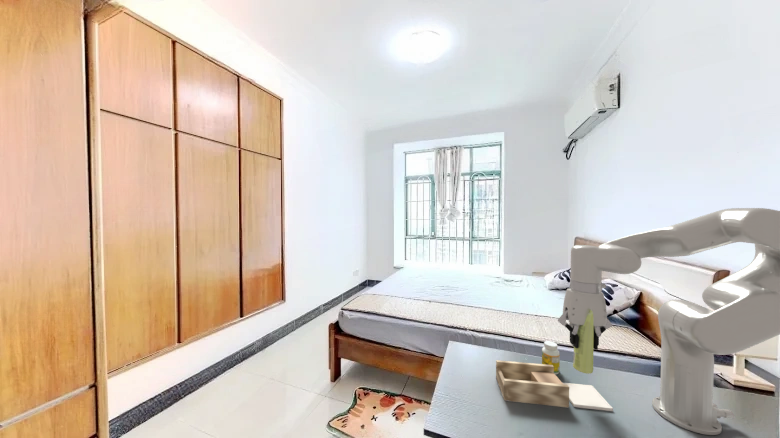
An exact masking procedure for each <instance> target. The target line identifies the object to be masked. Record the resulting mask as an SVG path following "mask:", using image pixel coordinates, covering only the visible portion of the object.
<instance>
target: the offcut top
mask: <svg viewBox="0 0 780 438" xmlns="http://www.w3.org/2000/svg"><path fill="white" fill-rule="evenodd" d="M531 381H534V382H544V383H554V384H563V383H564V382H562V381H561V380H560V379H559V377H558V376H557V374H554V373H547V372H531Z"/></svg>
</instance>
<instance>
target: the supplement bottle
mask: <svg viewBox="0 0 780 438" xmlns="http://www.w3.org/2000/svg"><path fill="white" fill-rule="evenodd" d="M560 358H561V357H560V351H559V350H558V344H557V343H556V342H554V341H550V340H545V341H543V347H542V348H541V364H546V365H553V367H554V374H555V375H559V374H560V372H561V371H560V368H561V367H560V366H561V365H560V364H561V363H560V361H561V360H560Z"/></svg>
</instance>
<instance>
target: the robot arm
mask: <svg viewBox="0 0 780 438" xmlns="http://www.w3.org/2000/svg"><path fill="white" fill-rule="evenodd" d="M734 243H747V244H753V245H754V249H755V251H754V257H753V260H752V261H751V262H750V263H748V265H746V266H744V267H742V268H741V269H739V270H737V271H735V272H734V273H732V274H730V275H727V276H726V277H724V278H722V279H719V280H718V281H716V282H714V283H712V284H710V285H709V286H707V287H705V289H704V290H703V292H702V294H701V298H702V300H703V302H704V303H705V305H706V306H708V307H709V308H710V309H709V308H707V307H704V306H702V305H700V304H697V303H695V302H691V301H689V300H685V299H672V300H668V301H666V302H664V303H663V304H662V305H660V307H659V309H658V313H657V319H658V326H659V331H660V338H661V339H660V341H661V351H660V352H661V353H660V380H659V381H660V384H659V386H660V387H659V388H660V389H659V396H656V397H654V398H652V403H651V404H652V407H653V409H654V411H656V412H657V414H658V415H660V416H662V418H664V419H666V420H667V421H669V422H670V423H672V424H675V425H676V426H678V427H680V428H682V429H685V430H687V431H690V432H693V433H696V434H701V435H705V436H717V435H720V434H721V433H722V428H723V427H722V424H721V422H720V421H719V420H718V419H721V418H723V419H724V418H727V419H735V414H734V412H733V411H732V410H731V409H725V408H719V407H718V405H717V404H716V403H714V402H713V401H714V374H715V372H714V371H715V357H714V356H715V355H718V356H722V355H723V356H726V355H727V356H728V355H732V354H736V353H740V352H743V351H744V350H747V349H750V348H752V347H755V346H757V345H759V344H762V343H764V342H766V341H768V340H770V339H773V338H774V337H777V336H779V335H780V210H778V209H777V210H776V209H772V208H765V207H744V208H743V207H741V208H739V207H734V208H733V207H732V208H725V209H720V210H717V211H713V212H710V213H707V214H704V215H701V216H698V217H695V218H691V219H688V220H685V221H681V222H678V223H675V224H673V225H672V224H671V225H669V226H665V227H661V228H656V229H652V230H648V231H644V232H638V233H635V234H634V233H633V234H630V235H627V236H623V237H620V238H616V239H613V240H610V241H607V242H604V243H602V244H600V245H598V246H597V245H587V244H586V245H585V244H575V245H573V246H572V247H571V249H570V271H569V272H570V274H569V276H570V277H569V278H570V279H569V281H570V282H569V288H567V289H566V291H565V294H564V297H563V298H564V299H563V308H562V314H561V315H560V316H559V318H558V319H557V321H558V323H559V324H560V325H562V326H564V327H565V328H566V329H567V331H569V343H570V344H571V345H572V346H573V348H574V347H575V348H579V335H577V331H578V328H579V325H584V323H585V320H586V317H587V315H588V313H589V312H590V310H592V311H593V327H594V343H593V350H596V351H598V349H599V348H598V347H599V345H600V342H599V341H600V337H601V336H602V334H603V333H604V332H605V331H607V330H608V329H610V328H612V327H613V323H612V322H611V321H610V320H609V318H608V317H607V316H608V315H607V303H606V299H605V295H604V293H603V292H602V291H603V289H606V287H607V285H606V283H603V282H602V276H603V275H602V274H603V273H602V272H607V273H613V274H617V275H629V274H634V273H636V272H637V271H639V269H640V268H641V267H642V259H646V258H656V257H657V258H658V257H661V258H662V257H663V258H664V257H666V258H667V257H668V258H674V257H675V258H676V257H677V258H679V257H687V256H691V255H695V254H699V253H702V252H706V251H708V250H709V251H710V250H713V249H717V248H720V247H723V246H724V247H725V246H727V245H730V244H734ZM711 309H712V310H711ZM567 320H568V322H569V323H567V322H566V321H567Z"/></svg>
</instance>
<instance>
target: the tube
mask: <svg viewBox="0 0 780 438" xmlns="http://www.w3.org/2000/svg"><path fill="white" fill-rule="evenodd" d="M577 335H579V348H575V347H574V346H573V356H572V359H573V360H572V367H573V369H575V370H576V371H578V372H580V373H582V374H587V375H589V374H593V372H594V348H593V343H594V327H593V311H592V310H590V312H589V313H588V315H587V317H586V320H585V323H584V325H579V328H578V331H577Z"/></svg>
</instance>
